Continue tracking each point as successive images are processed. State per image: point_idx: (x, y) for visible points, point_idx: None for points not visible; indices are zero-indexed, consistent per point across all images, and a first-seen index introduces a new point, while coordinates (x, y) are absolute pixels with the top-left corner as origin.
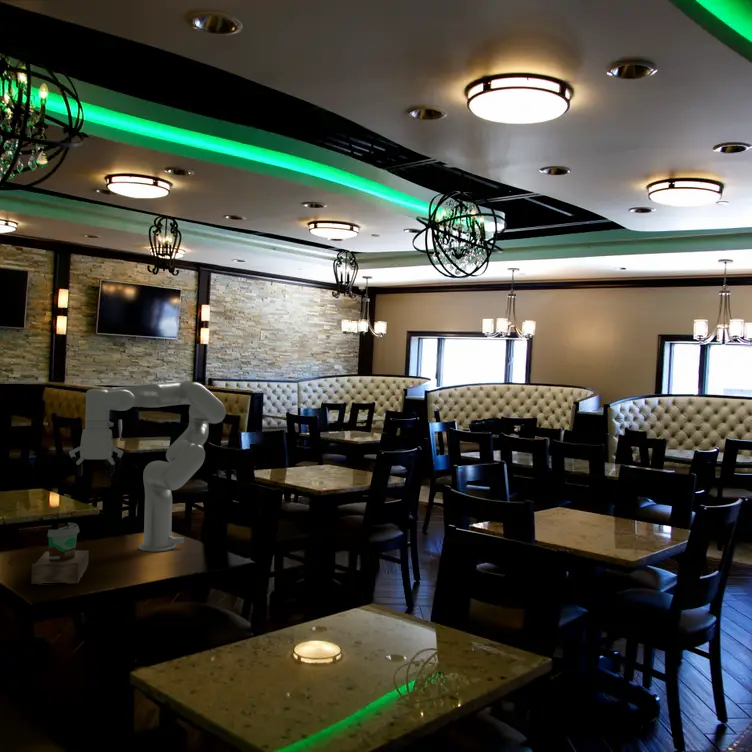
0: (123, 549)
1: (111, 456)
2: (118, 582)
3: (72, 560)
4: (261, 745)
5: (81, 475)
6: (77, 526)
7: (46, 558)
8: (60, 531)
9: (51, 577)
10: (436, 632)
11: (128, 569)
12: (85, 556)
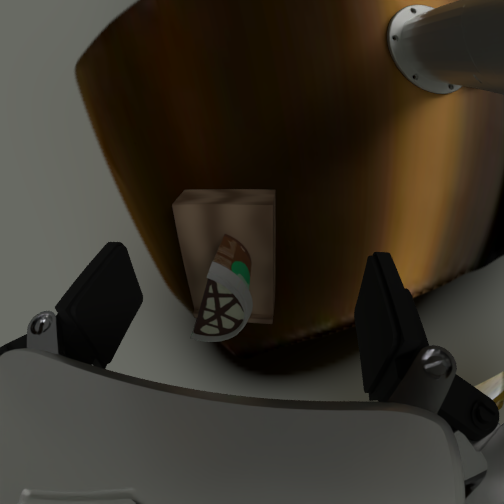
0: (345, 37)
1: (436, 421)
2: (340, 303)
3: (253, 283)
4: None
5: (136, 285)
6: (245, 314)
7: (195, 262)
8: (217, 338)
9: None
10: (498, 394)
11: (363, 232)
12: (273, 247)
